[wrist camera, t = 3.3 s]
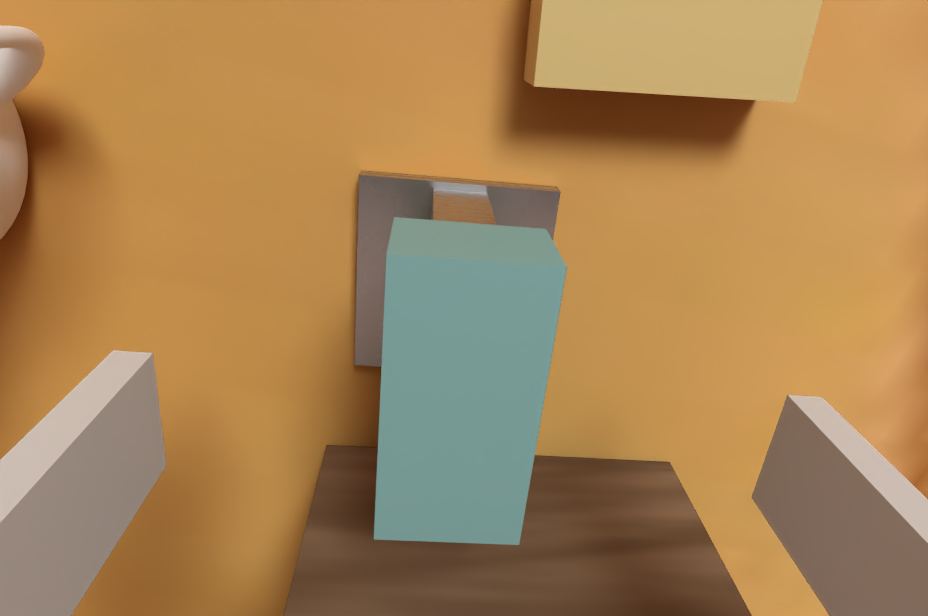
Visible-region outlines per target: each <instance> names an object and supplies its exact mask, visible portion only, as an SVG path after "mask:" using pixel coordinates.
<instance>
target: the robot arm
mask: <svg viewBox="0 0 928 616" xmlns="http://www.w3.org/2000/svg"><path fill="white" fill-rule="evenodd" d="M165 467H166V457H165V449H164V441H163V432H162V424H161V416H160V408H159V399H158V391H157V383H156V374H155V366H154V358H153V353H145V352H129V351H114V350H113V351H112V352H111V353H110V354H109V355H108V356H107V357H106V358H105V359H104V360H103V361H102V362H101V363H100V364H99V365H98V366H97V367H96V368H95V369H93V370H92V371H91V372H90V373H89V374H88V375H87V376H86V377H85V378H84V379H83V380H82V381H81V382H80V383H79V384H78V385H77V386H76V387H75V388H74V389H73V390H72V391H71V392H70V393H69V394H68V395H67V396H66V397H65V398H64V399H63V400H62V401H61V402H59V403H58V404H57V405H56V406H55V407H54V408H53V409H52V410H51V411H50V412H49V413H48V414H47V415H46V416H45V417H44V418H43V419H42V420H41V421H40V422H39V423H38V424H37V425H36V426H35V427H34V428H33V429H32V430H31V431H30V432H29V433H28V434H26V435H25V436H24V437H23V438H22V439H21V440H20V441H19V442H18V443H17V444H16V445H15V446H14V447H13V448H12V449H11V450H10V451H9V452H8V453H7V454H6V455H5V456H4V457H3V458H2V459H1V460H0V616H71V615H72V613H73V612H74V610H75V609H76V607H77V605H78V604H79V602H80V601H81V599H82V598H83V596H84V594H85V593H86V591H87V590H88V588H89V587H90V585H91V583H92V582H93V580H94V579H95V577H96V576H97V574H98V572H99V571H100V569H101V568H102V566H103V564H104V563H105V561H106V560H107V558H108V557H109V555H110V553H111V552H112V550H113V549H114V547H115V546H116V544H117V542H118V541H119V539H120V538H121V536H122V535H123V533H124V531H125V530H126V528H127V527H128V525H129V524H130V522H131V520H132V519H133V517H134V516H135V514H136V513H137V511H138V509H139V508H140V506H141V505H142V503H143V502H144V500H145V498H146V497H147V495H148V494H149V492H150V491H151V489H152V487H153V486H154V484H155V483H156V481H157V480H158V478H159V476H160V475H161V473H162V472H163V470H164V469H165ZM752 499H753V500H754V502H755V503H756V505H757V506H758V508H759V509H760V511H761V512H762V514H763V515H764V517H765V518H766V520H767V522H768V523H769V525H770V526H771V528H772V529H773V531H774V532H775V534H776V535H777V537H778V538H779V540H780V541H781V543H782V544H783V546H784V547H785V549H786V550H787V552H788V553H789V555H790V556H791V558H792V559H793V561H794V562H795V564H796V565H797V567H798V568H799V570H800V571H801V573H802V575H803V576H804V578H805V579H806V581H807V582H808V584H809V585H810V587H811V588H812V590H813V591H814V593H815V594H816V596H817V597H818V599H819V600H820V602H821V603H822V605H823V606H824V608H825V609H826V611H827V612H828V614H829V615H830V616H928V499H927V498H926V497H925V496H924V495H923V494H921V493H920V492H919V491H918V490H917V489H916V488H915V487H914V486H913V485H912V484H911V483H910V482H909V481H908V480H907V479H906V478H905V477H904V476H903V475H902V474H901V473H900V472H899V471H898V470H897V469H896V468H895V467H894V466H893V465H892V464H890V463H889V462H888V461H887V460H886V459H885V458H884V457H883V456H882V455H881V454H880V453H879V452H878V451H877V450H876V449H875V448H874V447H873V446H872V445H871V444H870V443H869V442H868V441H867V440H866V439H865V438H864V437H863V436H862V435H861V434H860V433H858V432H857V431H856V430H855V429H854V428H853V427H852V426H851V425H850V424H849V423H848V422H847V421H846V420H845V419H844V418H843V417H842V416H841V415H840V414H839V413H838V412H837V411H836V410H835V409H834V408H833V407H832V406H831V405H830V404H829V403H827V402H826V401H825V400H824V399H823V398H822V397H811V396H796V395H787V398H786V401H785V404H784V407H783V409H782V412H781V415H780V418H779V421H778V424H777V426H776V429H775V432H774V435H773V438H772V441H771V444H770V446H769V449H768V452H767V455H766V458H765V461H764V463H763V466H762V469H761V472H760V475H759V478H758V481H757V483H756V486H755V489H754V492H753V495H752Z"/></svg>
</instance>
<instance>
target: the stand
mask: <svg viewBox="0 0 928 616" xmlns="http://www.w3.org/2000/svg"><path fill="white" fill-rule="evenodd" d="M559 198H560V190H559V189H558V188H557V187H552V186H540V185H528V184H516V183H504V182H492V181H480V180H468V179H456V178H444V177H432V176H420V175H408V174H396V173H384V172H372V171H361V172H360V174H359V200H358V241H357V282H356V323H355V363H354V365H362V366H379V367H382V345H383V323H384V301H385V278H386V256H387V250H388V245H389V240H390V235H391V230H392V225H393V220H394V217H400V218H412V219H425V220H438V221H451V222H464V223H476V224H489V225H502V226H515V227H528V228H540V229H547V231H548V233H549V235H550V237H551V238H552V240H553V235H554V229H555V223H556V217H557V210H558V204H559Z"/></svg>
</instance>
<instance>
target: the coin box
mask: <svg viewBox="0 0 928 616" xmlns="http://www.w3.org/2000/svg"><path fill="white" fill-rule="evenodd" d="M377 456H378V448H373V447H353V446H333V445H327V446H326V450H325V454H324V458H323V462H322V466H321V470H320V474H319V477H318V481H317V485H316V489H315V493H314V497H313V501H312V505H311V509H310V513H309V517H308V521H307V525H306V529H305V533H304V536H303V540H302V544H301V548H300V552H299V556H298V560H297V564H296V568H295V572H294V576H293V580H292V584H291V588H290V592H289V595H288V599H287V603H286V607H285V611H284V615H283V616H752V615H751V613H750V612H749V610H748V608H747V606H746V604H745V602H744V600H743V598H742V597H741V595H740V593H739V591H738V589H737V587H736V585H735V583H734V582H733V580H732V578H731V576H730V574H729V572H728V570H727V569H726V567H725V565H724V563H723V561H722V559H721V557H720V555H719V554H718V552H717V550H716V548H715V546H714V544H713V542H712V540H711V539H710V537H709V535H708V533H707V531H706V529H705V527H704V525H703V524H702V522H701V520H700V518H699V516H698V514H697V512H696V510H695V509H694V507H693V505H692V503H691V501H690V499H689V497H688V495H687V494H686V492H685V490H684V488H683V486H682V484H681V482H680V480H679V479H678V477H677V475H676V473H675V471H674V469H673V467H672V466H671V464H670V462H657V461H636V460H616V459H596V458H576V457H555V456H534V462H533V467H532V473H531V479H530V485H529V491H528V496H527V502H526V508H525V514H524V520H523V525H522V531H521V537H520V543H519V545H506V544H480V543H453V542H427V541H401V540H374V523H375V500H376V478H377Z"/></svg>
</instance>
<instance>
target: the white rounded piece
mask: <svg viewBox="0 0 928 616" xmlns="http://www.w3.org/2000/svg"><path fill="white" fill-rule="evenodd" d="M44 55H45V52H44V46H43V44H42V42H41V40H40V38H39V37H38V36H37V35H36V34H35V33H34V32H32V31H31V30H29V29H26V28H23V27H17V26H0V239H1V238H2V237H3V236H4V235H5V234H6V232H7V231H8V230H9V228H10V227H11V226H12V225H13V223H14V221H15V219H16V217H17V215H18V213H19V211H20V208H21V205H22V202H23V199H24V196H25V191H26V184H27V177H28V154H27V147H26V139H25V135H24V131H23V128H22V124H21V120H20V117H19V115H18V112H17V110H16V107H15V105H14V102H13V100H12V99H14V98H15V97H16V96H17V95H18V94H19V93H20V92H21V91H22V90H23V89H24V88H25V87H26V86H27V85H28V84H29V83H30V82H31V80H32V79H33V78H34V76H35V75H36V74H37V73H38V71H39V69H40V68H41V66H42V63H43V59H44Z"/></svg>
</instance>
